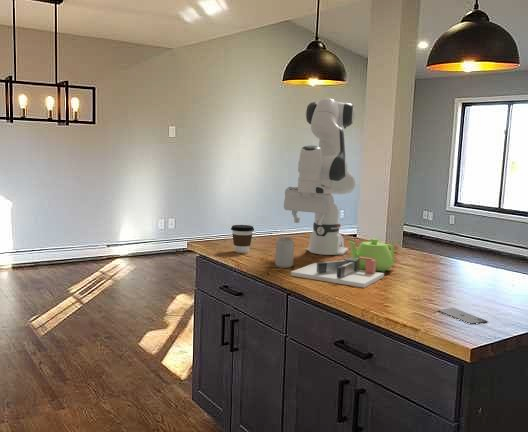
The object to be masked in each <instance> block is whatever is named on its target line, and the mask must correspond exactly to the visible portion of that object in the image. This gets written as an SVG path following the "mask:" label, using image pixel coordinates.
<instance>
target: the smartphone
mask: <svg viewBox="0 0 528 432" xmlns="http://www.w3.org/2000/svg"><path fill="white" fill-rule="evenodd" d="M437 310H438V311H440V312H442V313H441V314H443V313H445V314H447V315H450V316H452V317H455V318H457V319H460V320H462V321H465V322H467V323H470V324H475V325H477V324H476V323H483V324H488V323H489V321H488V320H487V319H484V318H482V317H479V316H476V315H473V314H471V313H468V312H465V311H463V310H461V309H457V308H455V307H451V308H440V309H437ZM438 311H437V312H438ZM440 312H439V313H440ZM445 314H444V315H445ZM447 315H446V316H447ZM450 316H449V317H450ZM452 317H451V318H452ZM455 318H454V319H455ZM457 319H456V320H457ZM460 320H459V321H460ZM462 321H461V322H462ZM465 322H464V323H465ZM487 322H488V323H487ZM467 323H466V324H467ZM470 324H469V325H470Z"/></svg>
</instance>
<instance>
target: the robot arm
mask: <svg viewBox="0 0 528 432" xmlns="http://www.w3.org/2000/svg"><path fill="white" fill-rule="evenodd" d="M306 106H307V107H306V109H305V118H306V122H307V123H308V124H309V125H310V130H311V133H312V134H313V135H314V136H315V137H316V138H317V139H318V145H305V146H303V147H301V149H300V153H299V160H298V167H297V168H298V169H297V171H298V172H299V176H298V179H297V187H296V186H294V187H293V186H288V187H287V188H286V189H285V190H284V200H283V208H284V210H285V211H291V215H292V217H293V221H294V223H296V224H297V223H298V224H299V223H300V217H298V215H297V214H298V212H302V213H303V212H304V213H313V214H314V222H313V224H312V227H313V228H312V229H313V230H312V232H311V233H310V236H309V243H308V244H309V245H308V247H306V251H308V252H310V253H311V254H316V255H317V254H318V255H325V256H333V255H334V256H335V255H336V256H337V255H338V256H344V255H345V254H346V253H347V252H348V251H349V248H348V247H345V246H344V245H345V243H344V242H345V239H344V237H343V236H342V234H341V233H340V232H339V231H340V229H341V227H342V226H341V225H342V224H341V223H339V207H338V206H337V204H335V200H334V196H333V195H345V194H346V195H347V194H350V193H352V192H353V191H354V189H355V187H356V179H355V176H354V175H353V174H352V172H350V171H349V169H348V162H347V159H346V145H345V144H346V143H345V141H346V140H345V134H344V130H346V129H347V128H348V127H350V126H351V125H352V124H354V123H353V122H354V121H355V119H356V110H355V107H354V105H353V104H352V103H350V102H341V101H336V100H334V99H333V98H330V97H325V98H322V99H321V100H319V101H313V102H310V103H308V105H306Z"/></svg>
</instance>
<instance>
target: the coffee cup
mask: <svg viewBox="0 0 528 432" xmlns="http://www.w3.org/2000/svg"><path fill="white" fill-rule="evenodd" d="M231 230H232V243H233V246H234V251H235V252H236V253H239V254H247V253H249V251H250V248H251V247H250V246H251V243H252V237H253V231H255V228H254V225H249V224H234V225H233V224H232V225H231V228H230V231H231Z"/></svg>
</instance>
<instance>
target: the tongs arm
mask: <svg viewBox="0 0 528 432" xmlns="http://www.w3.org/2000/svg"><path fill="white" fill-rule="evenodd" d="M316 263H317V273H325V272H334V271H337V267H340V266H342V265H345V264H347V260H344V259H343V260H334V261H333V260H331V261H322V262H316Z"/></svg>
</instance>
